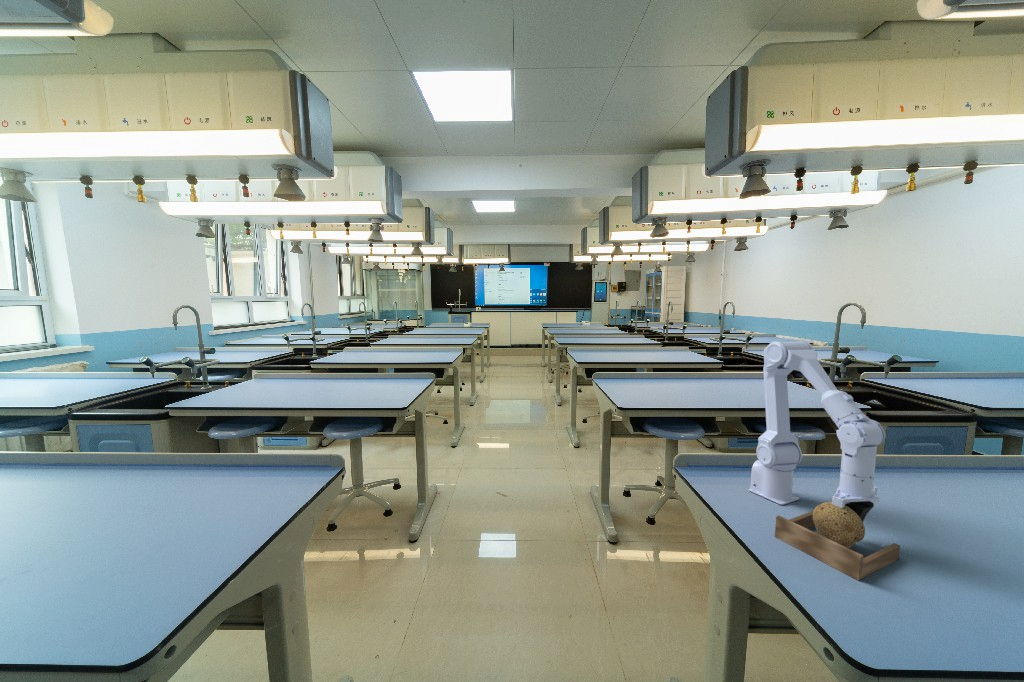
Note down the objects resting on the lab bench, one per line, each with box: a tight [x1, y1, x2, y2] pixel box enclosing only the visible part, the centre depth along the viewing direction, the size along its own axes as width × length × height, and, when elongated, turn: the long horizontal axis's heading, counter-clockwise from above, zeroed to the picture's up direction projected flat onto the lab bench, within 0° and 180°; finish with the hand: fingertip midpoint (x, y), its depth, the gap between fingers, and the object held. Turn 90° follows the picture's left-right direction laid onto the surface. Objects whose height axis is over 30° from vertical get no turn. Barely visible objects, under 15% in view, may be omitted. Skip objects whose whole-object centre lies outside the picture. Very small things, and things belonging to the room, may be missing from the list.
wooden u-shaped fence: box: [774, 510, 901, 582], centre depth 87 cm, size 16×16×5 cm
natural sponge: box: [812, 501, 866, 549], centre depth 87 cm, size 9×9×10 cm
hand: (852, 529), depth 90 cm, fingers closed
